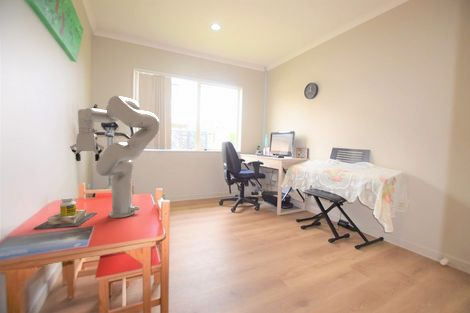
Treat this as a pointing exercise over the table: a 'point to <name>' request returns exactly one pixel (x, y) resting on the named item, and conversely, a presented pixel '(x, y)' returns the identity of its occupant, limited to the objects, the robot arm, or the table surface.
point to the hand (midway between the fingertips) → (87, 161)
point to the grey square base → (66, 220)
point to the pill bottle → (68, 206)
